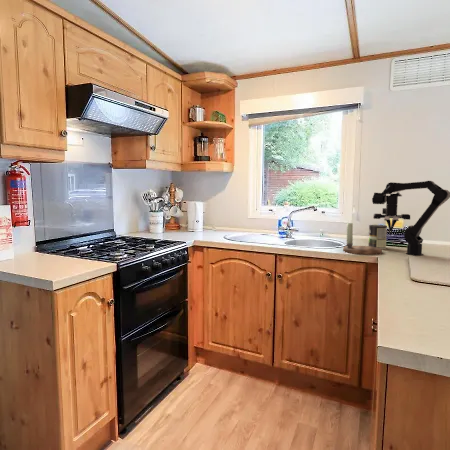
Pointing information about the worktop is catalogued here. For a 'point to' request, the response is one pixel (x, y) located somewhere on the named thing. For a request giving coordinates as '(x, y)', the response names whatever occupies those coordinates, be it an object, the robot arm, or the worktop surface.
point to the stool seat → (362, 250)
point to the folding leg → (350, 233)
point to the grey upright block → (377, 236)
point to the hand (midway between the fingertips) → (390, 231)
